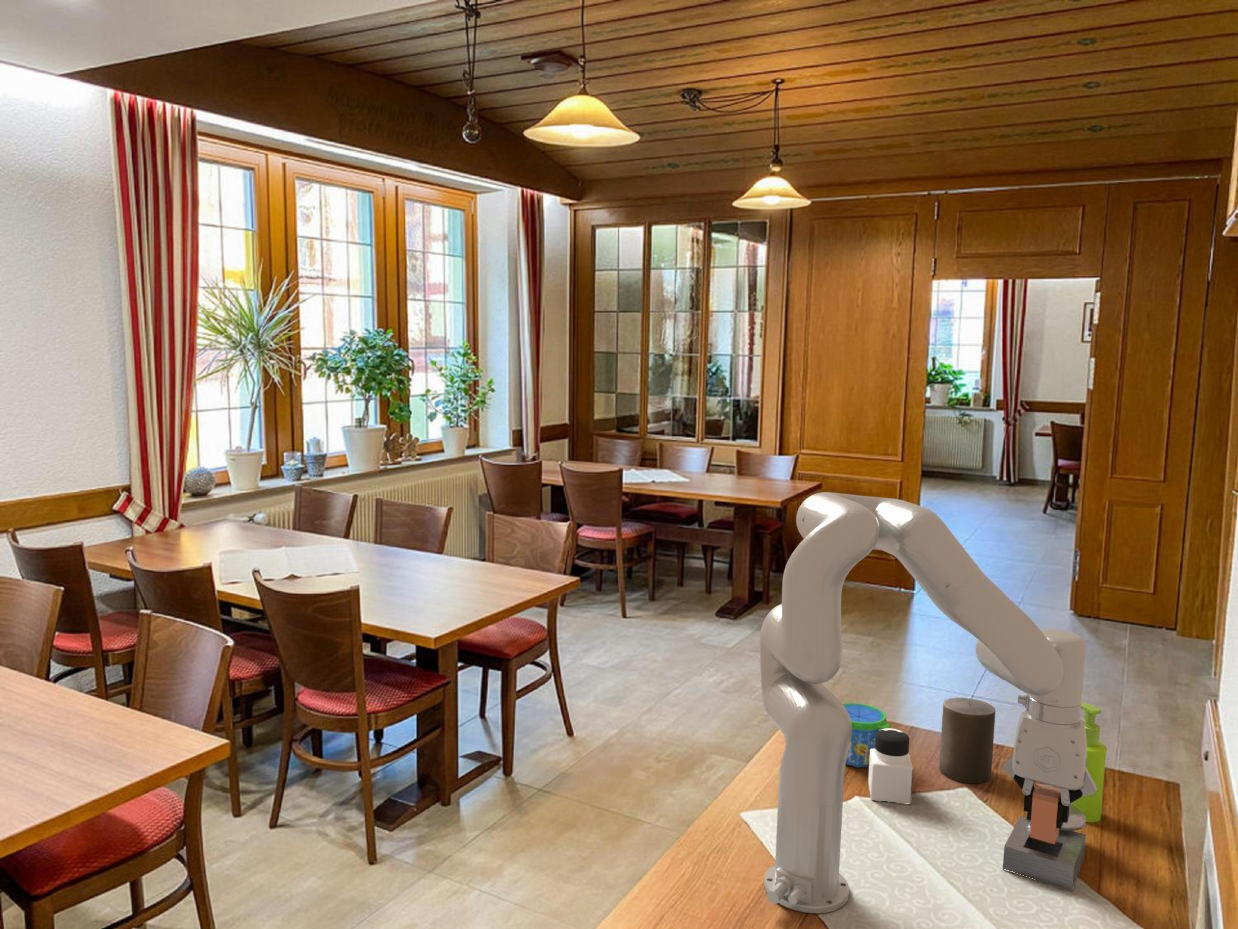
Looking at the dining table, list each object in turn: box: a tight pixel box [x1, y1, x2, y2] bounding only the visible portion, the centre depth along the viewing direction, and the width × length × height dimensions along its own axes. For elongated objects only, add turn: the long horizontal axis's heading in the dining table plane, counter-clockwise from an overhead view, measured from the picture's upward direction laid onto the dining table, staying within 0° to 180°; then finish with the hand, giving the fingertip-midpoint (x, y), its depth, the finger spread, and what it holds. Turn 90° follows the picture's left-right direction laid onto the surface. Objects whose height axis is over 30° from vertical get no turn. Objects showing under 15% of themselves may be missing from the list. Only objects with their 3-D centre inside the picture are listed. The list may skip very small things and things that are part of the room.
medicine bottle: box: [867, 727, 914, 804], centre depth 167 cm, size 7×7×12 cm
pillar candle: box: [938, 697, 996, 784], centre depth 177 cm, size 10×10×15 cm
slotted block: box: [1002, 783, 1087, 892], centre depth 147 cm, size 18×10×22 cm, turn 145°
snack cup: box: [842, 702, 893, 769], centre depth 181 cm, size 16×10×10 cm
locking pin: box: [1030, 783, 1061, 844], centre depth 143 cm, size 4×4×8 cm
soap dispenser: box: [1071, 701, 1107, 823], centre depth 161 cm, size 6×7×20 cm
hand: (1045, 819), depth 143 cm, fingers closed on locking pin, 3 cm apart
